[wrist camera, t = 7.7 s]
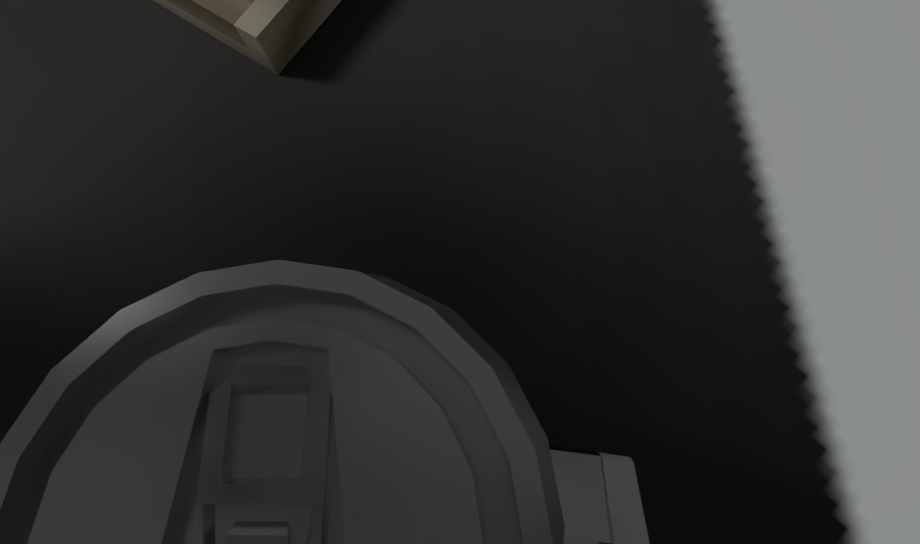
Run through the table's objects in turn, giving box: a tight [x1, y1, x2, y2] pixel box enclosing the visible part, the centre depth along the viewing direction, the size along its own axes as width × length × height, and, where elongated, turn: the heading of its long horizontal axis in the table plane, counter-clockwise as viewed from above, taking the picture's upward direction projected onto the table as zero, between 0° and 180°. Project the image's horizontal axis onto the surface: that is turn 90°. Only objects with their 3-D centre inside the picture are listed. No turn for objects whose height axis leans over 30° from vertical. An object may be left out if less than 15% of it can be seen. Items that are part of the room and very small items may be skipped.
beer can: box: [0, 260, 565, 544], centre depth 10 cm, size 5×5×12 cm
